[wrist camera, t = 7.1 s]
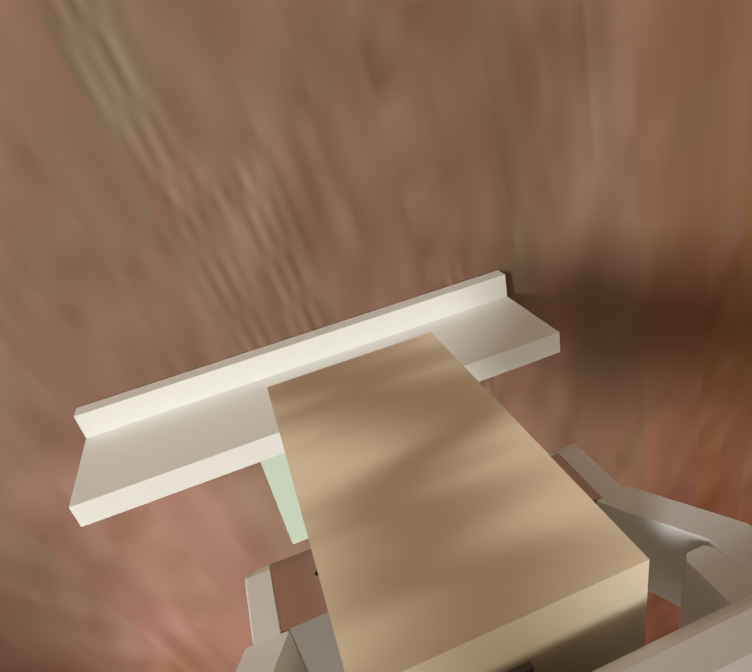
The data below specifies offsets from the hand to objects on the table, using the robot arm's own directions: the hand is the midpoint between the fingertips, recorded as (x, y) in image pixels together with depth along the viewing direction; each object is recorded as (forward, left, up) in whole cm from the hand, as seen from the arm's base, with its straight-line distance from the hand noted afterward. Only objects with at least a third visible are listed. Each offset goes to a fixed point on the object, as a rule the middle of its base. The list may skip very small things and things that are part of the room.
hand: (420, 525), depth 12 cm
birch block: (0, 0, -4) cm, 4 cm away
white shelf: (0, +6, -19) cm, 20 cm away
